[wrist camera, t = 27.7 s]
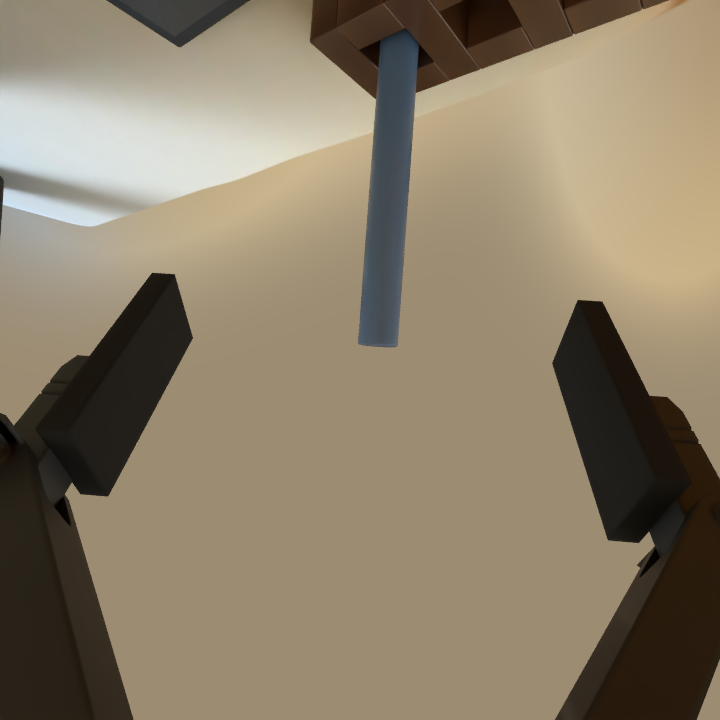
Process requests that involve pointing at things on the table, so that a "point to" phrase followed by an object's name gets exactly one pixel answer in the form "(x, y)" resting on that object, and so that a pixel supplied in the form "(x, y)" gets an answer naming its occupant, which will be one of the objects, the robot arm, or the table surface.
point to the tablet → (178, 15)
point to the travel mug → (1, 198)
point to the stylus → (388, 191)
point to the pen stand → (452, 31)
